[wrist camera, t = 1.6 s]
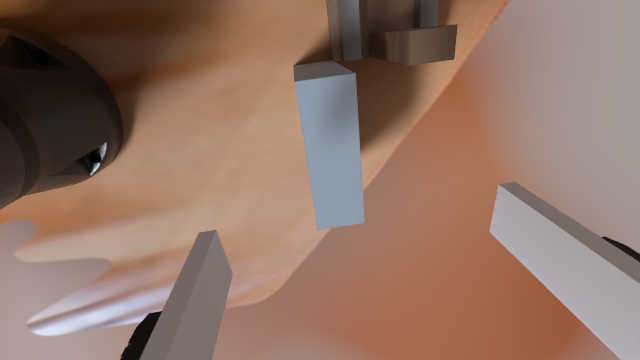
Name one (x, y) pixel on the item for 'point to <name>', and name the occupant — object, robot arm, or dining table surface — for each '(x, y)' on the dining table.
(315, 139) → the grey square slab
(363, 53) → the grey u-shaped frame
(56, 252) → the dining table surface
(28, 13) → the dining table surface
